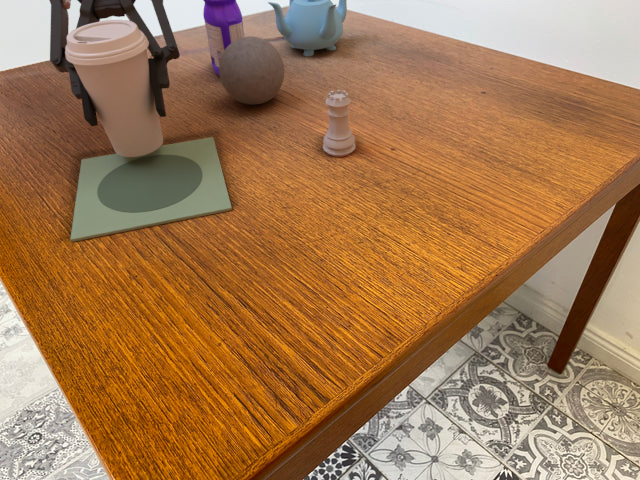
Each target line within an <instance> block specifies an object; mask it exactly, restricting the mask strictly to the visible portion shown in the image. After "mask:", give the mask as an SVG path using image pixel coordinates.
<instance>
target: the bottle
mask: <svg viewBox="0 0 640 480" xmlns="http://www.w3.org/2000/svg"><path fill="white" fill-rule="evenodd" d="M203 2H204V5H203V11H202V13H203V14H202V15H203V19H204V25H205V32H206V37H207V43H208V48H209V54H210V59H211V61H210V62H211V66H212V68H213V70H214V73H215V74H216V75H217V76H219V77H220V75H219V63H220V59H221V56H222V54H223V52H224V50H225V49H226V48H227V47H228V46H229V45H230V44H231V43H232V42H233V41H235V40H237V39H239V38H243V37H245V30H244V24H243V23H244V21H243V15H242V11H241V9H240V6H239V4H238V3H237V0H203Z"/></svg>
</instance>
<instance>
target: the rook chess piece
mask: <svg viewBox="0 0 640 480" xmlns="http://www.w3.org/2000/svg"><path fill="white" fill-rule="evenodd" d="M351 103H352V99H351V98H350V97H349V93H348V92H347V91H346V90H341V89H336V92H335V90H331V91H329V92H328V93H327V98H326V99H325V104H326V105H327V106H328V110H327V115H328V117H329V119H328V129H327V131H325V135H324V136H323V139H322V140H323V141H322V143H323V145H322V149H323V151H324V152H325V153H326V154H327V155H328V156H331V157H335V158H342V157H348V156H349V155H351V154H352V153H353V152H354V150H355V149H356V144H355V142H356V138H355V135H354V134H353V132H352V130H351V129H350V124H349V114H350V110H349V109H348V107H349V105H350V104H351Z"/></svg>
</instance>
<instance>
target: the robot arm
mask: <svg viewBox="0 0 640 480" xmlns="http://www.w3.org/2000/svg"><path fill="white" fill-rule="evenodd" d="M136 1H137V0H77V2H78V3H79V4H80V6H79V17H78V20H77V23H76V27H75V29H77V28H79V27H81V26H84V25H87V24H91V23H95V22H100V21H101V20H102V19H108V18H111V17H116V18H122V17H125V16H126V18H127V19H128V21H131V22H134V23H135V24H136V25H137V27H138V28H139V30H140V31H142V32H143V33H144V35H145V36H146V38H147V39H148V41H149V45H148V47H147V48H146V49H147V50H148V51H149V53H150V54H151V56H152V57H150V58H149V57H148V63H149V69H150V75H151V82H152V88H153V94H154V100H155V106H156V110H157V112H158V114H159V118H164V117H167V113H166V112H167V111H166V107H165V100H164V95H163V89H169V88H170V86H171V85H170V84H171V82H170V76H169V71H168V63H169V62H170V61H172V60H178V59H179V58H180V56H181V55H180V50H179V48H178V44H177V41H176V38H175V36H174V32H173V29H172V26H171V24H170V20H169V17H168V15H167V12H166V9H165V5H164V0H150V1H151V3H152V7H153V10H154V13H155V16H156V19H157V22H158V24H159V27H160V30H161V33H162V36H163V40H164V43H165V46H163V47H161V46H160V45H159V43H158V41H157V40H156V38H155V36H154V35H153V34H152V32H151V31H150V29H149V27H148V26H147V24H146V22H145V21H144V20H143V18H142V16H141V15H140V13H139V12H138V10H137V8H136V6H135V5H134V4H135V3H136ZM71 2H72V0H49V3H50V35H49V37H50V39H49V62H50V63H51V64H52V65H53V66H54V67H55V69H56V70H57V71H58V72H59V73H62V74H63V73H68V75H69V76H68V77H69V82H70V89H71V90H70V91H71V92H72V94H73V96H74V97H75V98H76V99H77V100H81V102H82V103H81V104H82V112H83V118H84V120H85V121H86V122H87V123H88V125H90V126H91V127H98V126H99V122H98V115H97V113H96V110H95V108H94V106H93V104H92V101H91V99H90V97H89V94H88V92H87V90H86V89H85V87H84V85H83V83H82V81H81V79H80V77H79V75H78V73H77V71H76V69H75V67H74V65H73V63H71V62H69V61H67V59H66V55H65V47H66V45H67V35H68V34H69V13H68V10H69V9H71V6H72V4H71Z"/></svg>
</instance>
